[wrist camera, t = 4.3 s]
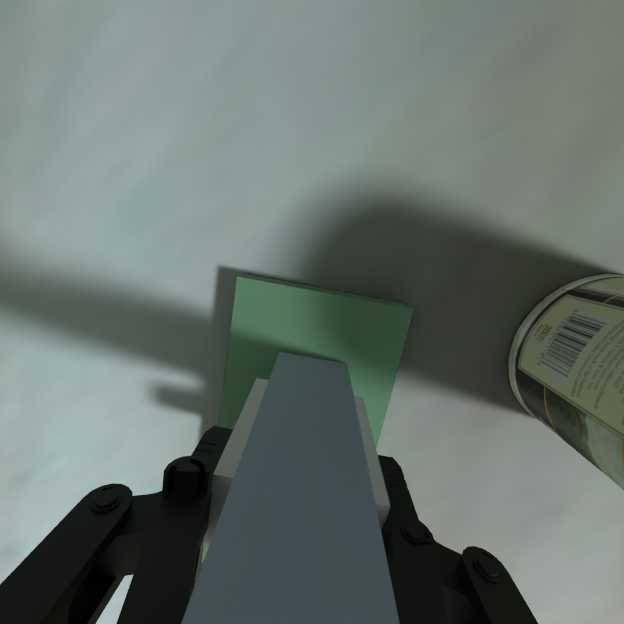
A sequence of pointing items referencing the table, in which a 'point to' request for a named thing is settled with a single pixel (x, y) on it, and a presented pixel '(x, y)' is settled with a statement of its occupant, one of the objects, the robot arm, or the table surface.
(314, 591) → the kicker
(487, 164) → the table surface
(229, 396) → the plate
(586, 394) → the coffee can
